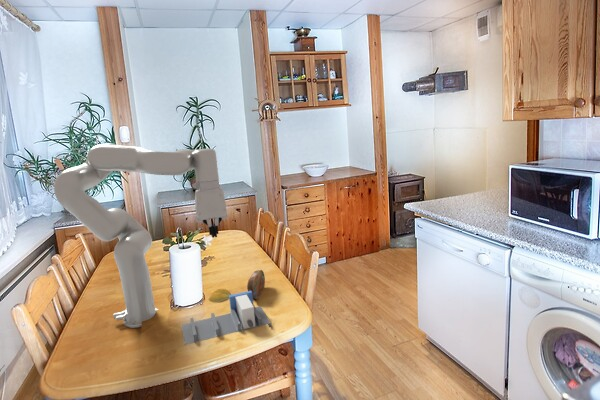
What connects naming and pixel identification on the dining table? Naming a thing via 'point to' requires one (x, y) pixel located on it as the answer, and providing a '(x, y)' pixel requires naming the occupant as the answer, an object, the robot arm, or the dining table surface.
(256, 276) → the brown flat oval slab
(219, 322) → the board
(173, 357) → the dining table surface
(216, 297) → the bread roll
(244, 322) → the cable plug
